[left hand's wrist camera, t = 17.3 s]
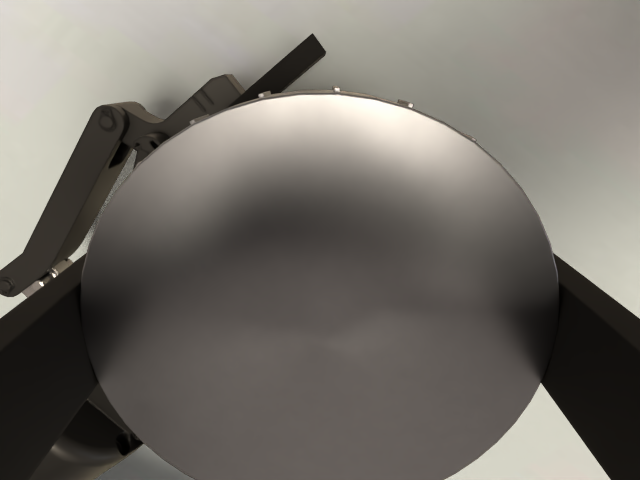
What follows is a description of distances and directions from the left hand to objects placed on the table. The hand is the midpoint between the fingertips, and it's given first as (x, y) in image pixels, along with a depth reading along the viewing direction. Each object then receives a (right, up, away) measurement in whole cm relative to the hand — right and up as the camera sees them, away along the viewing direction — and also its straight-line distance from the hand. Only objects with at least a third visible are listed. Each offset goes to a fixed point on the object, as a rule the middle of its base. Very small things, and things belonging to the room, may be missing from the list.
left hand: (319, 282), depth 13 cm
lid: (0, -1, -3) cm, 3 cm away
